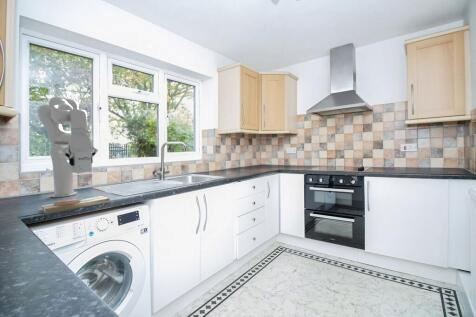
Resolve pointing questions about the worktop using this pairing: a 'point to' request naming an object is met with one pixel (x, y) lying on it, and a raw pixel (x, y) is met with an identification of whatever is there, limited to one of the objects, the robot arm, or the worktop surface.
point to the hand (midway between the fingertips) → (81, 164)
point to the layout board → (73, 204)
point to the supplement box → (81, 161)
